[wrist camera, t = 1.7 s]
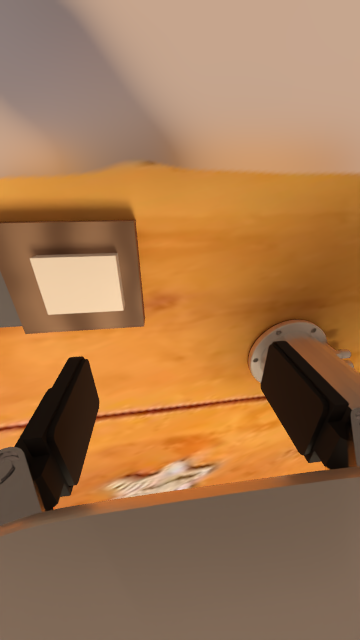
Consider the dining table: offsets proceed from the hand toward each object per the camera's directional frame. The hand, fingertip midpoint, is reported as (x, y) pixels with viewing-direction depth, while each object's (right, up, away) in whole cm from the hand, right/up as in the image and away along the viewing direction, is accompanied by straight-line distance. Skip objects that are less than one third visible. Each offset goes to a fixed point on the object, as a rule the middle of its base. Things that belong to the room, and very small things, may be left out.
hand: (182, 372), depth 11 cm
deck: (-12, +8, +15) cm, 21 cm away
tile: (-11, +7, +13) cm, 18 cm away
